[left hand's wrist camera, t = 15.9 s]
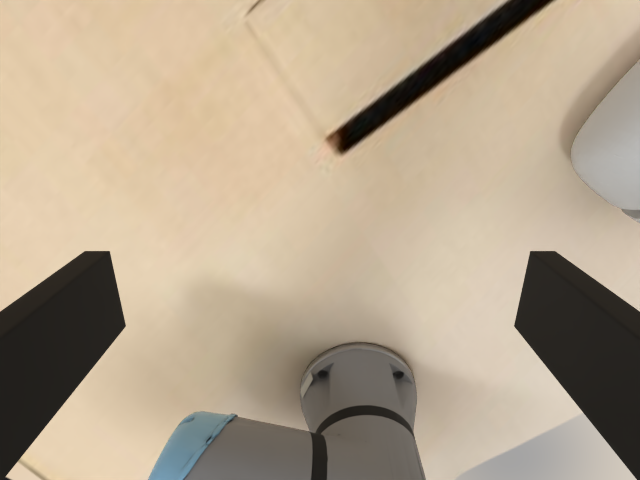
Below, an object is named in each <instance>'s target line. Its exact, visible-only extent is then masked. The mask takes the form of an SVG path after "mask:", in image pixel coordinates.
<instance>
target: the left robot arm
mask: <svg viewBox="0 0 640 480" xmlns="http://www.w3.org/2000/svg"><path fill="white" fill-rule="evenodd" d="M125 326H126V325H125V320H124V316H123V311H122V306H121V302H120V297H119V293H118V288H117V283H116V279H115V274H114V269H113V265H112V260H111V256H110V251H85V252H83V253H82V254H80V255H79V256H78V257H76V258H75V259H73V260H72V261H71V262H69V263H68V264H66V265H65V266H64V267H62V268H61V269H59V270H58V271H57V272H55V273H54V274H52V275H51V276H50V277H48V278H47V279H45V280H44V281H43V282H41V283H40V284H38V285H37V286H36V287H34V288H33V289H31V290H30V291H29V292H27V293H26V294H24V295H23V296H22V297H20V298H19V299H17V300H16V301H15V302H13V303H12V304H10V305H9V306H8V307H6V308H5V309H3V310H2V311H1V312H0V480H3V479H4V478H5V476H6V475H7V474H8V473H9V471H10V470H11V469H12V468H13V466H14V465H15V464H16V463H17V461H18V460H19V459H20V458H21V456H22V455H23V454H24V453H25V451H26V450H27V449H28V448H29V446H30V445H31V444H32V443H33V441H34V440H35V439H36V438H37V436H38V435H39V434H40V433H41V431H42V430H43V429H44V428H45V426H46V425H47V424H48V423H49V421H50V420H51V419H52V418H53V416H54V415H55V414H56V413H57V411H58V410H59V409H60V408H61V406H62V405H63V404H64V403H65V401H66V400H67V399H68V398H69V396H70V395H71V394H72V393H73V391H74V390H75V389H76V388H77V386H78V385H79V384H80V383H81V381H82V380H83V379H84V378H85V376H86V375H87V374H88V373H89V371H90V370H91V369H92V368H93V366H94V365H95V364H96V363H97V361H98V360H99V359H100V358H101V356H102V355H103V354H104V353H105V351H106V350H107V349H108V348H109V346H110V345H111V344H112V343H113V341H114V340H115V339H116V338H117V336H118V335H119V334H120V333H121V331H122V330H123V329H124V328H125ZM514 326H515V328H516V329H517V330H518V331H519V333H520V334H521V335H522V336H523V338H524V339H525V340H526V341H527V343H528V344H529V345H530V346H531V348H532V349H533V350H534V351H535V353H536V354H537V355H538V356H539V358H540V359H541V360H542V361H543V363H544V364H545V365H546V366H547V368H548V369H549V370H550V371H551V373H552V374H553V375H554V376H555V378H556V379H557V380H558V381H559V383H560V384H561V385H562V386H563V388H564V389H565V390H566V391H567V393H568V394H569V395H570V396H571V398H572V399H573V400H574V401H575V403H576V404H577V405H578V406H579V408H580V409H581V410H582V411H583V413H584V414H585V415H586V416H587V418H588V419H589V420H590V421H591V423H592V424H593V425H594V426H595V428H596V429H597V430H598V431H599V433H600V434H601V435H602V436H603V438H604V439H605V440H606V441H607V443H608V444H609V445H610V446H611V448H612V449H613V450H614V451H615V453H616V454H617V455H618V456H619V458H620V459H621V460H622V461H623V463H624V464H625V465H626V466H627V468H628V469H629V470H630V471H631V473H632V474H633V475H634V476H635V478H636V479H637V480H640V312H639V311H638V310H637V309H635V308H634V307H632V306H631V305H630V304H628V303H627V302H625V301H624V300H623V299H621V298H620V297H618V296H617V295H616V294H614V293H613V292H611V291H610V290H609V289H607V288H606V287H604V286H603V285H602V284H600V283H599V282H597V281H596V280H595V279H593V278H592V277H590V276H589V275H588V274H586V273H585V272H583V271H582V270H581V269H579V268H578V267H576V266H575V265H574V264H572V263H571V262H569V261H568V260H567V259H565V258H564V257H562V256H561V255H560V254H558V253H557V252H555V251H530V256H529V260H528V265H527V269H526V274H525V279H524V283H523V288H522V293H521V297H520V302H519V306H518V311H517V316H516V320H515V325H514ZM300 400H301V407H302V411H303V414H304V417H305V420H306V422H307V425H308V428H309V431H310V432H309V431H304V430H299V429H294V428H289V427H284V426H279V425H274V424H270V423H265V422H260V421H255V420H250V419H245V418H241V417H238V415H236V414H230V415H225V414H218V413H210V412H203V411H200V412H195V413H193V414H191V415H189V416H187V417H186V418H185V419H184V420H183V421H182V422H181V423H180V424H179V425H178V427H177V428H176V429H175V431H174V432H173V434H172V435H171V437H170V438H169V440H168V442H167V443H166V445H165V447H164V449H163V451H162V453H161V454H160V456H159V458H158V460H157V462H156V464H155V466H154V468H153V470H152V472H151V474H150V476H149V479H148V480H426V478H425V475H424V471H423V467H422V463H421V460H420V456H419V452H418V449H417V445H416V441H415V437H414V433H413V429H414V420H415V412H416V404H417V392H416V385H415V381H414V378H413V375H412V372H411V370H410V368H409V366H408V365H407V364H406V362H405V361H404V360H403V359H402V358H401V357H400V356H398V355H397V354H396V353H394V352H393V351H391V350H389V349H387V348H384V347H381V346H378V345H374V344H368V343H351V344H345V345H341V346H337V347H334V348H332V349H330V350H327V351H326V352H324V353H322V354H321V355H319V356H318V357H317V358H316V359H315V360H313V361H312V363H311V364H310V365H309V366H308V368H307V369H306V371H305V373H304V375H303V378H302V381H301V390H300Z"/></svg>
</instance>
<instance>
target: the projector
mask: <svg viewBox="0 0 640 480" xmlns="http://www.w3.org/2000/svg"><path fill="white" fill-rule="evenodd" d="M571 161H572V165H573V168H574V170H575V172H576V173H577V175H578V176H579V177H580V178H581V179H582V180H583V181H584V182H585V183H586V184H587V185H588V186H589V187H590V188H591V189H592V190H593V191H594V192H596V193H597V194H598V195H599V196H601V197H602V198H603V199H605V200H606V201H608V202H609V203H610V204H612V205H613V206H616V207H618V208H621V210H622V211H623V212H624V213H625V214H626V215H628V216H629V217H631V218H632V219H634V220H635V221H637V222H639V223H640V59H639V60H638V61H637V62H636V63H635V65H634V66H633V67H632V68H631V69H630V70H629V71H628V72H627V73H626V74H625V75H624V76H623V77H622V78H621V79H620V81H619V82H618V83H617V84H616V85H615V86H614V87H613V88H612V90H611V91H610V92H609V93H608V94H607V95H606V97H605V98H604V99H603V100H602V101H601V102H600V104H599V105H598V106H597V107H596V109H595V110H594V111H593V112H592V114H591V115H590V116H589V118H588V119H587V120H586V122H585V123H584V125H583V126H582V127H581V129H580V131H579V132H578V134H577V136H576V137H575V140H574V142H573V145H572V148H571Z"/></svg>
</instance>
